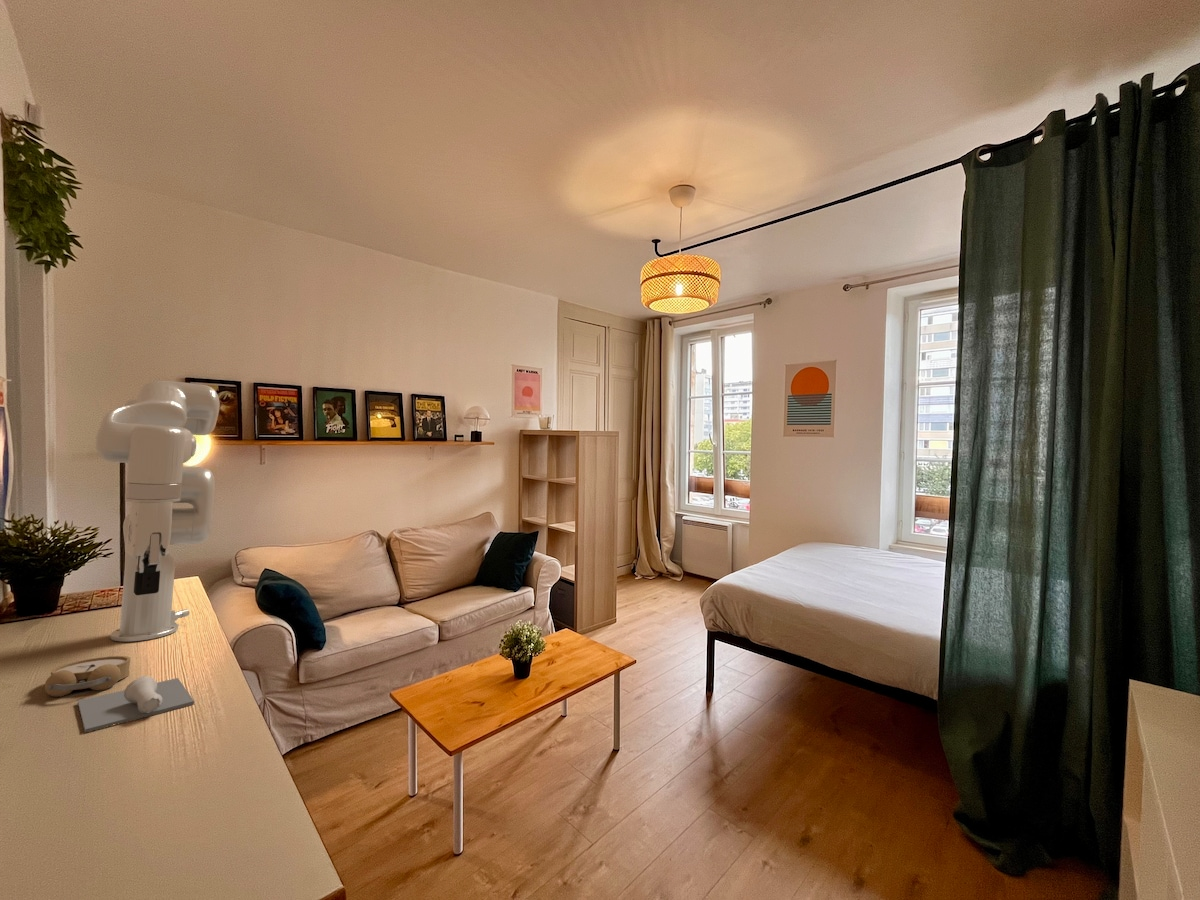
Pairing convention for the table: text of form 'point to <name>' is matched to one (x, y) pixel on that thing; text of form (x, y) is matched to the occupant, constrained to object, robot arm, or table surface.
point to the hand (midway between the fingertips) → (146, 593)
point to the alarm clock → (87, 675)
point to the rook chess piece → (143, 694)
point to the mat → (130, 706)
